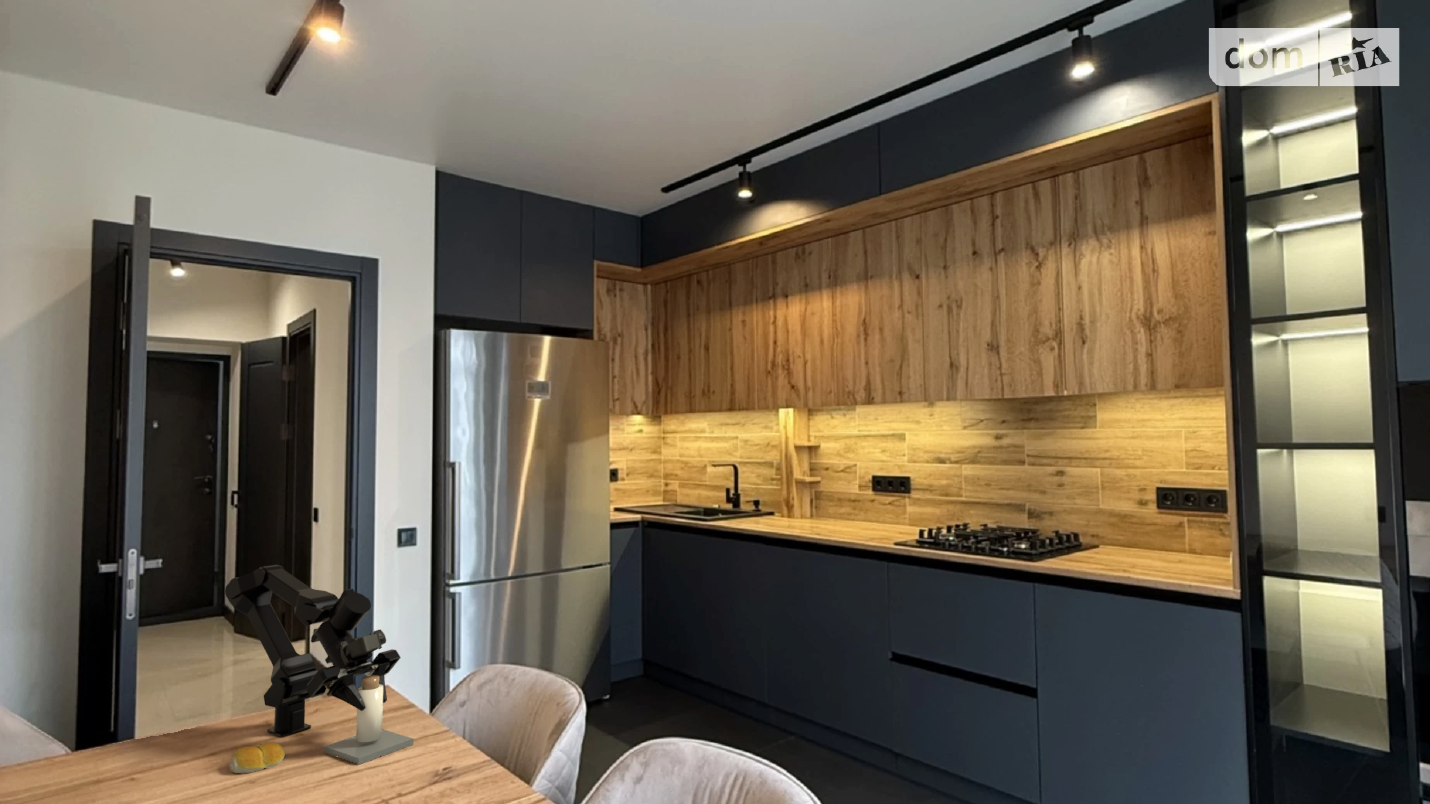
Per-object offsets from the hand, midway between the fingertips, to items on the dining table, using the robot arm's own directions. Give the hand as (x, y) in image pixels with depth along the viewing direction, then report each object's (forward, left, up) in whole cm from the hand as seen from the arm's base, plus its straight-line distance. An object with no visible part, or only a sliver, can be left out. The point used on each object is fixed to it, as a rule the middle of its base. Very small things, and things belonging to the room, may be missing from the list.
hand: (374, 705), depth 152 cm
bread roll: (-12, -17, -9) cm, 23 cm away
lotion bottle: (-1, 0, -7) cm, 7 cm away
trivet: (-1, 0, -9) cm, 9 cm away
